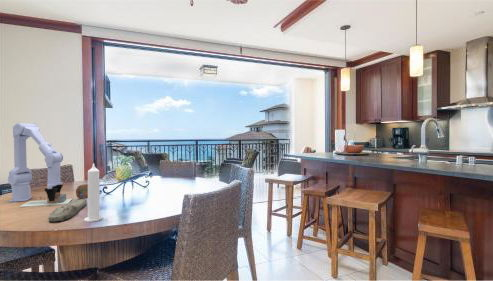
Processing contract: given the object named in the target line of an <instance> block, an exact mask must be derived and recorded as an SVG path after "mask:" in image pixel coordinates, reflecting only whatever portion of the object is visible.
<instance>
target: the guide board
mask: <svg viewBox="0 0 493 281" xmlns="http://www.w3.org/2000/svg"><path fill="white" fill-rule="evenodd" d="M71 200H72V201H74V198H67V193H60V196H58V202H48V203H47V199H44V200H43V199H42V200H29V201H27V202H25V203H23V204H21V205H20V206H19V207H18V208H32V207H33V208H34V207H46V206H47V207H49V205H50V206H63V205H66V204H68V203H70V201H71Z"/></svg>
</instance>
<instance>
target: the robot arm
mask: <svg viewBox="0 0 493 281" xmlns="http://www.w3.org/2000/svg"><path fill="white" fill-rule="evenodd" d="M12 137H13V152H14V153H13V158H14V160H13V161H14V162H13V163H14V166H13V168H12V169H11V170H10V171H9V172H8V176H7V181H8V182H7V183H8V184H9V185H10V186H11V199H10V200H8V202H9V203H12V202H14V203H15V202H26V201H27V202H28V200H30V199H32V198H33V196H31V194H32V193H31V192H32V189H31V188H32V187H31V185H30V183H31V182H32V181H33V175H32V170H31V169H30V168H29V167H28V166H27V165H28V164H27V163H28V162H27V161H28V160H27V140H28V139H29V138H32V140H34V141H35V143H36V144H38V150H39V151H40V152H41V153H42V155H43V156H44V157H45V158H44V162H45V163H46V167H47V183H46V186H47V187H45V188H44V190H43V191H44V192H45V193H46V196H47V195H48V199H49V201H54V200H55V194H56V192H60V193H61V191H62V188H63V186H64V182H62V181H61V163H62V162H63V160H64V156H63V154H62V153H61V152H59V151H56V149H55V148H54V147H53V146H52V144H51V143H50V142H46V140H45V138H44V137H43V136H42V134H41V132H40V127H39V126H38V124H37V123H23V122H22V123H21V122H16V123H15V124H14V125H13V126H12Z"/></svg>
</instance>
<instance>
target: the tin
mask: <svg viewBox="0 0 493 281" xmlns="http://www.w3.org/2000/svg"><path fill="white" fill-rule="evenodd" d="M75 195H76V197H77V199H78V200H80V199H85V198H86V199H88V182H87V183H84V184H80V185H78V186H77V188H76V189H75ZM86 199H85V200H86Z"/></svg>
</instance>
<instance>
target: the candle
mask: <svg viewBox="0 0 493 281" xmlns="http://www.w3.org/2000/svg"><path fill="white" fill-rule="evenodd" d="M87 183H88V198H87V217H84V219H83V220H84V222H86V223H93V222H94V223H95V222H98V221H99V222H100V221H101V220H103V218H104V217H103V215H100V170H99V169H98V168H97V167H96V164H95V163H94V162H93V163H92V167H91V168H90V169H88V171H87Z"/></svg>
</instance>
